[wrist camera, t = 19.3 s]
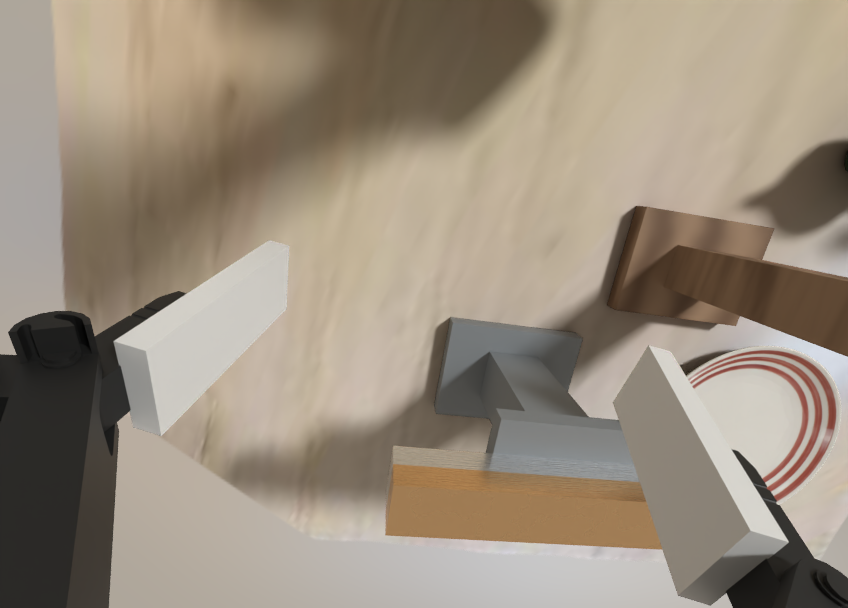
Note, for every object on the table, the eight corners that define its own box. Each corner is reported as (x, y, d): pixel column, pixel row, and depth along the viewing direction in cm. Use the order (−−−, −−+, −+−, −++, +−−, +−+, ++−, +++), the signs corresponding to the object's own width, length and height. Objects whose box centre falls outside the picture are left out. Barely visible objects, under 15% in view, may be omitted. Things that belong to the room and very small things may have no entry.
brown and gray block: (386, 490, 30) (385, 535, 26) (392, 445, 29) (393, 485, 25) (652, 508, 33) (686, 550, 29) (667, 467, 32) (705, 506, 28)
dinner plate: (597, 485, 57) (610, 502, 54) (691, 312, 51) (711, 321, 47) (750, 522, 62) (770, 541, 59) (855, 369, 55) (883, 381, 52)
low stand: (434, 405, 51) (460, 537, 32) (450, 317, 48) (490, 406, 29) (552, 416, 53) (643, 547, 34) (575, 332, 50) (690, 425, 31)
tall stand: (606, 304, 49) (911, 475, 20) (636, 205, 46) (1048, 243, 17) (722, 320, 51) (1148, 495, 22) (758, 226, 48) (1312, 291, 19)
